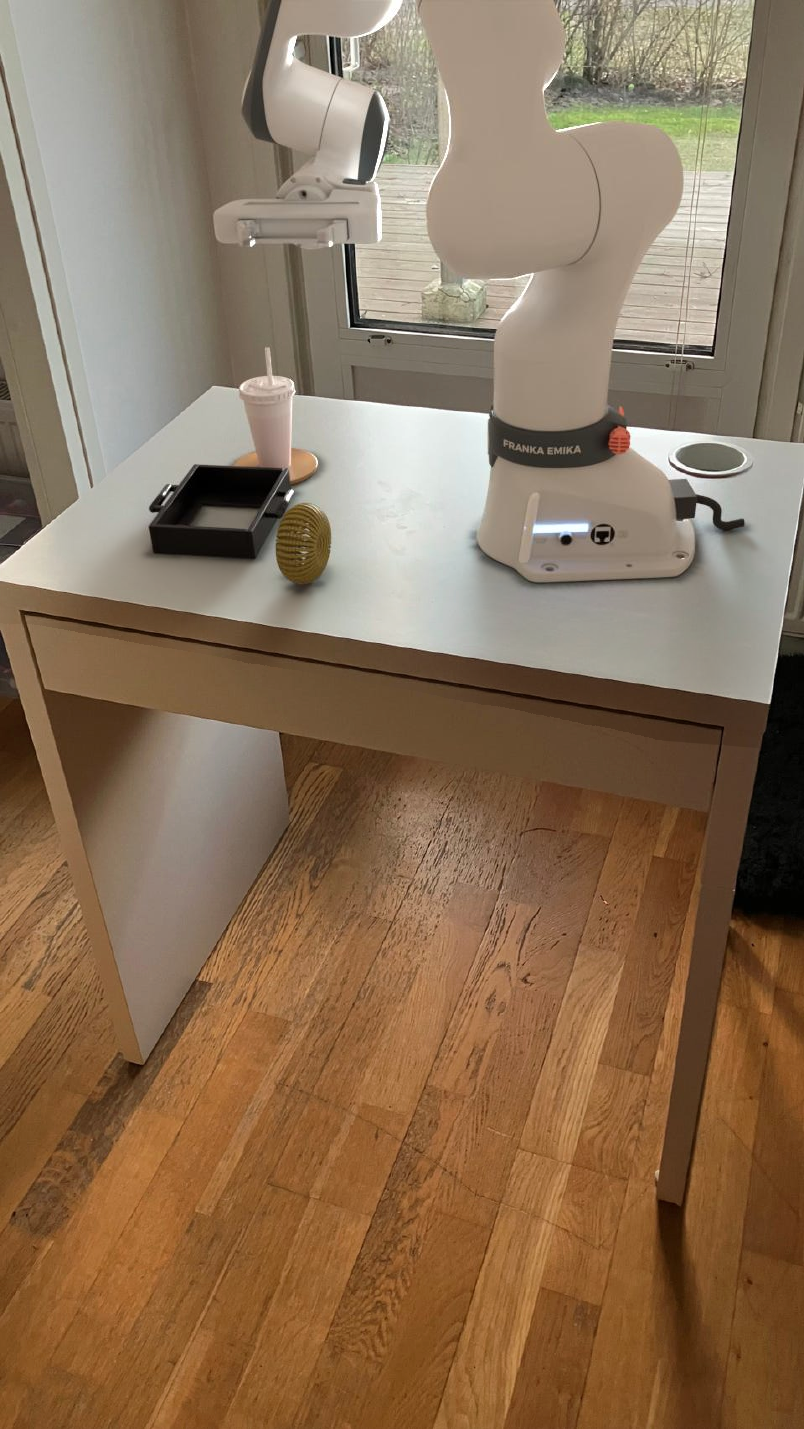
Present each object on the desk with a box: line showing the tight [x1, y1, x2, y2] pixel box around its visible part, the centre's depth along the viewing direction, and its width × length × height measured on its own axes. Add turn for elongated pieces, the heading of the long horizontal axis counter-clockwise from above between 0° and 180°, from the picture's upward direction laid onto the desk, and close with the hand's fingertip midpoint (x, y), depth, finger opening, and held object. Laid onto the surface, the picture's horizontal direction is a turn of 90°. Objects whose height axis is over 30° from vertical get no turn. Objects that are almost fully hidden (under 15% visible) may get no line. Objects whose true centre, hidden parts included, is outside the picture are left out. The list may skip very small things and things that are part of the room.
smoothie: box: [238, 346, 296, 468], centre depth 136 cm, size 6×6×14 cm
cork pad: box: [233, 447, 319, 485], centre depth 141 cm, size 10×10×1 cm
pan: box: [148, 463, 295, 560], centre depth 129 cm, size 15×15×3 cm
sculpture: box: [275, 502, 332, 585], centre depth 117 cm, size 8×4×8 cm, turn 162°
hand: (283, 239), depth 137 cm, fingers open, 8 cm apart
